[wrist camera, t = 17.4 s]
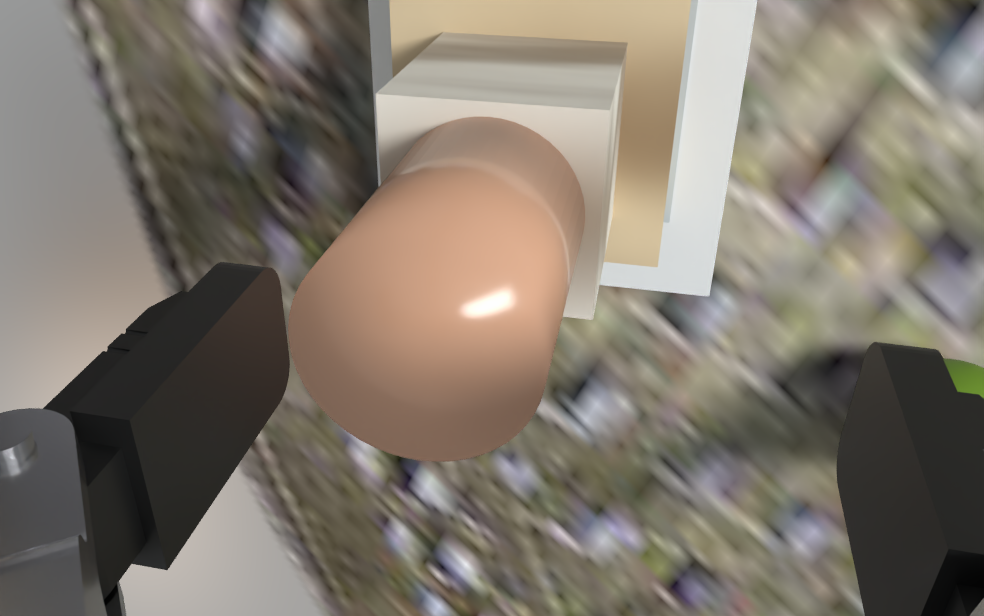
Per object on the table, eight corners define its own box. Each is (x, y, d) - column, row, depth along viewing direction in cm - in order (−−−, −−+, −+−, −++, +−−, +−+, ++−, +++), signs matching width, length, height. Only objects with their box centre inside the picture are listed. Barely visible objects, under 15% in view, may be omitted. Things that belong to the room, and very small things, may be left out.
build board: (369, -164, 26) (358, -163, 25) (779, -155, 24) (782, -154, 23) (390, 250, 33) (382, 262, 32) (708, 283, 31) (709, 297, 30)
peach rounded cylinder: (388, 109, 19) (273, 222, 13) (592, 124, 18) (553, 250, 13) (396, 287, 21) (301, 443, 16) (578, 307, 20) (540, 477, 15)
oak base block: (426, -50, 26) (387, -29, 23) (692, -39, 25) (693, -15, 22) (432, 193, 30) (399, 241, 27) (661, 213, 29) (657, 267, 26)
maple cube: (443, 31, 24) (375, 94, 18) (627, 42, 23) (609, 110, 18) (446, 201, 26) (387, 297, 21) (612, 216, 25) (592, 319, 20)
